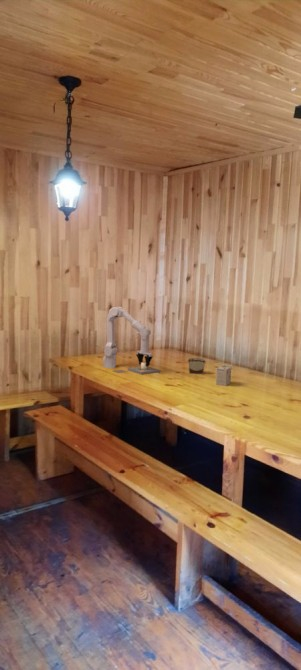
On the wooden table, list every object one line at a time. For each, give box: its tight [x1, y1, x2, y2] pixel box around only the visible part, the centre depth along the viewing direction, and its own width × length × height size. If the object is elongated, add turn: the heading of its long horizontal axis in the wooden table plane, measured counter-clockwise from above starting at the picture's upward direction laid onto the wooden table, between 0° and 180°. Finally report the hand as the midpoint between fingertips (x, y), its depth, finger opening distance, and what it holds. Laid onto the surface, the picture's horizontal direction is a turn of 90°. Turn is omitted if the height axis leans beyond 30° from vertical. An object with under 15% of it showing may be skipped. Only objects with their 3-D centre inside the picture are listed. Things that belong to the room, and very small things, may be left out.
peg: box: [140, 361, 147, 370], centre depth 334 cm, size 4×4×7 cm
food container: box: [187, 357, 207, 375], centre depth 339 cm, size 12×6×10 cm, turn 84°
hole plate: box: [127, 366, 161, 376], centre depth 334 cm, size 16×16×3 cm
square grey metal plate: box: [112, 369, 128, 374], centre depth 331 cm, size 8×8×1 cm
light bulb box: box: [215, 365, 233, 387], centre depth 309 cm, size 11×7×11 cm, turn 154°
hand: (144, 365), depth 334 cm, fingers open, 7 cm apart
